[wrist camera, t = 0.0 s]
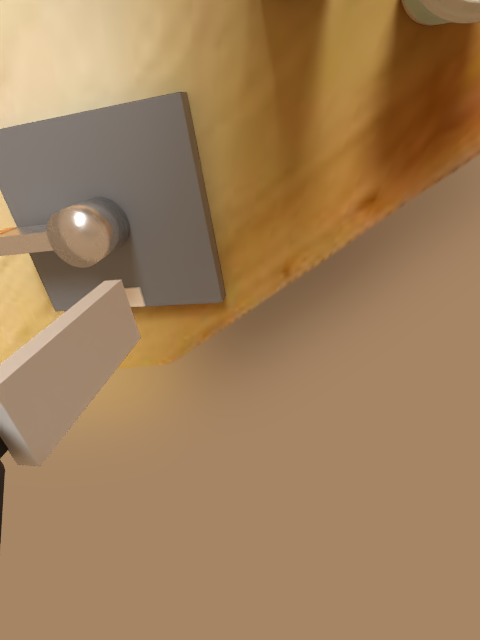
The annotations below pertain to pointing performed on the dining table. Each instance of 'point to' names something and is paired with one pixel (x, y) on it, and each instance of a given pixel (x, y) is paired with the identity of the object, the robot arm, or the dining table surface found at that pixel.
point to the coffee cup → (442, 11)
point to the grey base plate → (119, 198)
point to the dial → (73, 233)
